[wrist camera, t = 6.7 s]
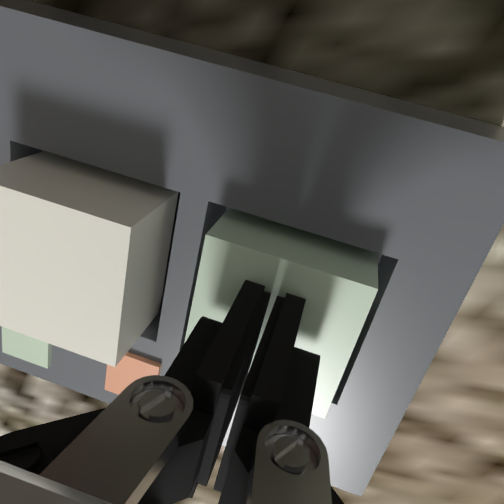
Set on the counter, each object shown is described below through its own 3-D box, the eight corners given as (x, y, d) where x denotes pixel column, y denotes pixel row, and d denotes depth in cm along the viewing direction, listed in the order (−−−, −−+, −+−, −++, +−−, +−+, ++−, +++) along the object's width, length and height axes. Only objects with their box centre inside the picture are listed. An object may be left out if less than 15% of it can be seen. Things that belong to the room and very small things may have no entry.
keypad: (501, 126, 13) (544, 153, 10) (363, 420, 19) (360, 501, 15) (-128, -42, 16) (-262, -64, 12) (-88, 263, 21) (-173, 303, 18)
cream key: (178, 191, 14) (130, 227, 11) (159, 311, 16) (114, 367, 13) (44, 150, 14) (-32, 175, 11) (42, 272, 16) (-23, 317, 13)
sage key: (377, 241, 14) (378, 289, 11) (333, 354, 16) (324, 418, 13) (237, 198, 14) (205, 234, 11) (211, 313, 16) (179, 367, 13)
